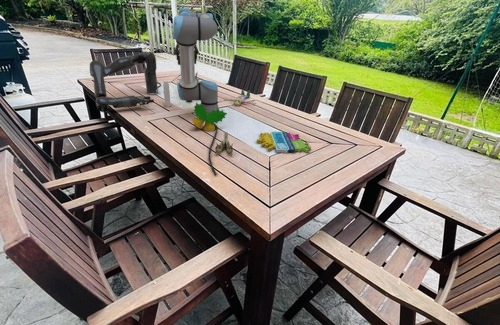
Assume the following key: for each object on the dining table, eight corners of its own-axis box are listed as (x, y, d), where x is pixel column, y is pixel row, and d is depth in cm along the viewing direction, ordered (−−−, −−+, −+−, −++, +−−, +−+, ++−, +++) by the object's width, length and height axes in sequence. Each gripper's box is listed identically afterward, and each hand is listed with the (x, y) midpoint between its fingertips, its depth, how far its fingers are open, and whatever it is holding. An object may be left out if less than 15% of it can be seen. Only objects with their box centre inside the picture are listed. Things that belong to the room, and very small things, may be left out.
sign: (313, 150, 142) (258, 149, 139) (312, 153, 143) (258, 152, 140) (301, 132, 164) (254, 130, 161) (301, 134, 165) (254, 133, 162)
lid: (186, 102, 209) (186, 100, 208) (185, 100, 213) (185, 98, 212) (192, 102, 211) (192, 99, 210) (191, 100, 215) (191, 98, 214)
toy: (261, 91, 228) (254, 99, 202) (261, 99, 231) (253, 108, 205) (231, 87, 233) (220, 95, 207) (230, 95, 236) (219, 104, 210)
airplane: (171, 82, 265) (170, 71, 260) (201, 80, 279) (201, 70, 274) (181, 92, 237) (180, 81, 232) (214, 89, 250) (214, 79, 245)
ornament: (218, 133, 171) (224, 110, 169) (221, 134, 163) (227, 111, 161) (186, 125, 162) (192, 101, 160) (189, 126, 155) (195, 101, 153)
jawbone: (234, 135, 144) (233, 125, 135) (233, 160, 138) (232, 151, 129) (217, 135, 144) (216, 125, 135) (216, 160, 138) (214, 150, 129)
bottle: (171, 104, 201) (169, 80, 192) (170, 106, 198) (168, 82, 189) (165, 104, 201) (163, 80, 192) (164, 106, 197) (162, 81, 188)
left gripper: (130, 99, 175) (154, 96, 184) (125, 93, 185) (148, 91, 194) (131, 109, 179) (155, 107, 187) (127, 104, 189) (149, 101, 197)
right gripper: (197, 32, 197) (198, 62, 208) (167, 32, 182) (169, 64, 192) (203, 33, 193) (203, 64, 203) (172, 33, 177) (174, 66, 188)
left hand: (152, 99), depth 191 cm, fingers open, 8 cm apart
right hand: (187, 64), depth 198 cm, fingers open, 13 cm apart
